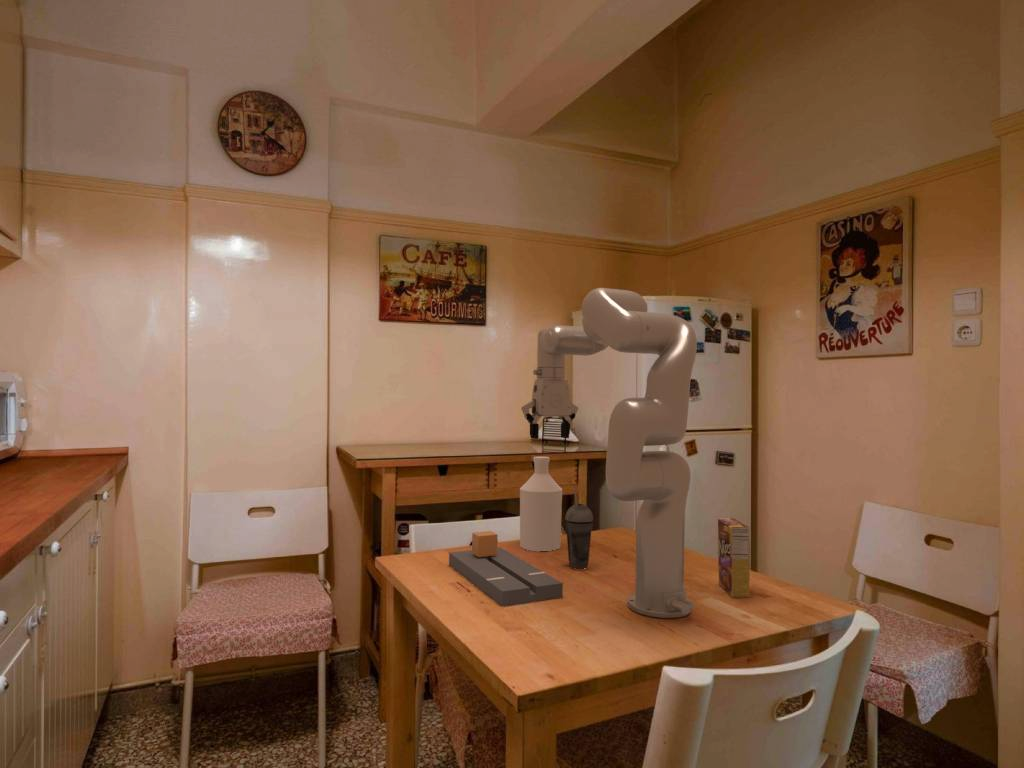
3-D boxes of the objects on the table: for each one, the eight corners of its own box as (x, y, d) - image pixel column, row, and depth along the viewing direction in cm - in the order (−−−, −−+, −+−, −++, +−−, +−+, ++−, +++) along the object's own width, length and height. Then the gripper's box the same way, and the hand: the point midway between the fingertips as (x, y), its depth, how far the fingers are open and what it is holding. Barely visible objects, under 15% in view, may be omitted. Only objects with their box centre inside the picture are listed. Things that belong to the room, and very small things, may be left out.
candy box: (716, 584, 139) (717, 517, 140) (735, 585, 139) (736, 517, 140) (730, 597, 130) (730, 526, 131) (750, 598, 130) (751, 526, 131)
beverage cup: (594, 571, 148) (596, 488, 148) (564, 571, 148) (565, 488, 148) (591, 563, 155) (592, 484, 155) (562, 562, 155) (564, 483, 156)
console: (562, 597, 129) (562, 582, 129) (502, 606, 123) (502, 590, 123) (500, 558, 158) (500, 546, 158) (448, 564, 152) (449, 552, 152)
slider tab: (497, 561, 149) (497, 534, 149) (478, 563, 147) (478, 536, 147) (490, 557, 152) (490, 531, 152) (471, 559, 150) (472, 532, 150)
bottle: (557, 553, 164) (559, 460, 164) (514, 550, 167) (516, 458, 167) (564, 543, 176) (565, 456, 176) (524, 540, 178) (525, 454, 179)
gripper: (530, 373, 157) (528, 440, 157) (585, 375, 165) (584, 438, 165) (516, 373, 164) (515, 437, 164) (570, 375, 172) (568, 436, 172)
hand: (549, 438), depth 165 cm, fingers open, 9 cm apart
